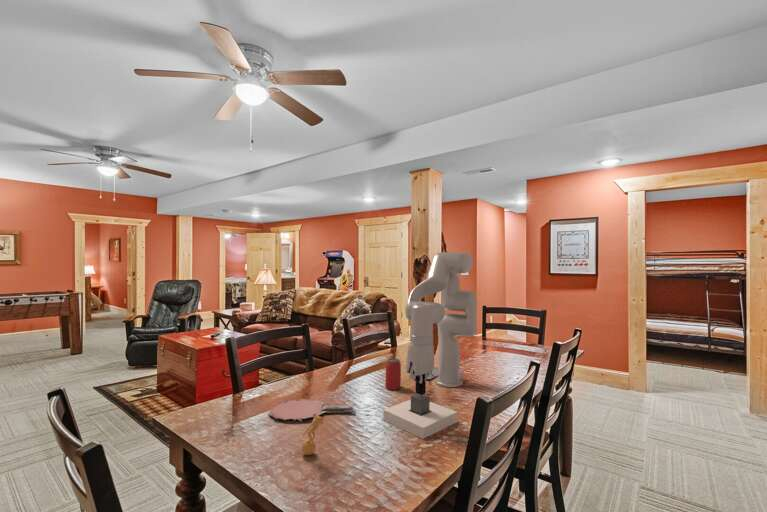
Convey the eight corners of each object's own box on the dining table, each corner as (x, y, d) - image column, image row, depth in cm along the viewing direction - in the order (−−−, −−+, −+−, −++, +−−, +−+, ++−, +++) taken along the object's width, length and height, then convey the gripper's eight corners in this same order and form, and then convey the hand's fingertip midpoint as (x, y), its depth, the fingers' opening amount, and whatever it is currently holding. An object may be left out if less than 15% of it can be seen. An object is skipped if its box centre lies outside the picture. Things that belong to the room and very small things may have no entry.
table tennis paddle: (287, 400, 142) (287, 393, 142) (357, 410, 134) (357, 402, 134) (260, 419, 125) (261, 411, 125) (339, 432, 117) (339, 423, 117)
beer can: (399, 391, 154) (399, 362, 154) (383, 389, 155) (384, 361, 155) (401, 386, 160) (402, 358, 161) (386, 384, 162) (387, 357, 162)
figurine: (312, 445, 108) (313, 405, 108) (328, 451, 105) (329, 409, 105) (293, 459, 100) (294, 415, 100) (310, 465, 97) (311, 420, 98)
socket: (417, 406, 139) (417, 396, 139) (456, 422, 126) (457, 412, 126) (383, 419, 126) (383, 409, 126) (423, 439, 113) (423, 427, 113)
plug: (419, 415, 129) (419, 392, 129) (429, 419, 126) (429, 396, 126) (410, 419, 126) (410, 396, 126) (420, 423, 123) (421, 400, 123)
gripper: (426, 335, 134) (425, 386, 134) (398, 341, 124) (397, 395, 123) (443, 339, 129) (442, 391, 128) (415, 345, 118) (414, 402, 118)
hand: (420, 393), depth 126 cm, fingers closed
